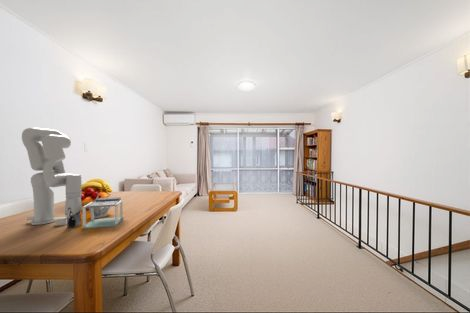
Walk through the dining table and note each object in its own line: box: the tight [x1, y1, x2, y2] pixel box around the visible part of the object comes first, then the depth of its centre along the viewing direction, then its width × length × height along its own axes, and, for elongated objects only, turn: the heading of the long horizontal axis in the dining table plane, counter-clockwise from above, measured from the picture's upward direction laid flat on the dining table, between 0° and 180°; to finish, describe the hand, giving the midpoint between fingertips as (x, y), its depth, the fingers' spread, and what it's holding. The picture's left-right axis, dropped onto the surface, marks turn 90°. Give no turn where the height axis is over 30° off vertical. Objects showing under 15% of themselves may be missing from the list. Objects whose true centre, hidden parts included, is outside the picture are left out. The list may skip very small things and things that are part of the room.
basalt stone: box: [66, 213, 82, 228], centre depth 123 cm, size 5×5×6 cm
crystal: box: [88, 195, 112, 219], centre depth 143 cm, size 10×13×15 cm
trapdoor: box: [87, 196, 121, 209], centre depth 130 cm, size 15×17×4 cm
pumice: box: [54, 216, 67, 227], centre depth 126 cm, size 5×4×4 cm
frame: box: [81, 199, 124, 230], centre depth 127 cm, size 18×15×12 cm
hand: (74, 224), depth 124 cm, fingers closed on basalt stone, 5 cm apart
